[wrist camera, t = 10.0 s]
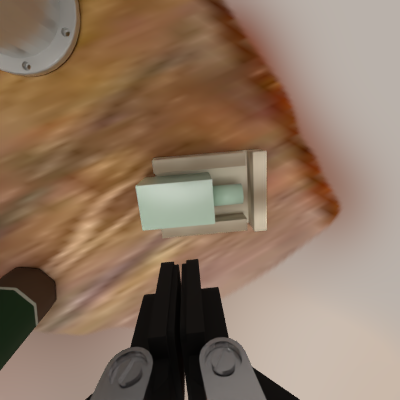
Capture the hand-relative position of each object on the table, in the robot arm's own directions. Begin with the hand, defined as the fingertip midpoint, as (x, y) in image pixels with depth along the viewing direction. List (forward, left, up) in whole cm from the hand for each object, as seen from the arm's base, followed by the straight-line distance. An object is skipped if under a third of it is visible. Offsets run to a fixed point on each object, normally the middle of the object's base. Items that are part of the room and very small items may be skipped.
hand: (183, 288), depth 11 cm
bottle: (0, -5, -17) cm, 18 cm away
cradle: (0, +3, -20) cm, 20 cm away
